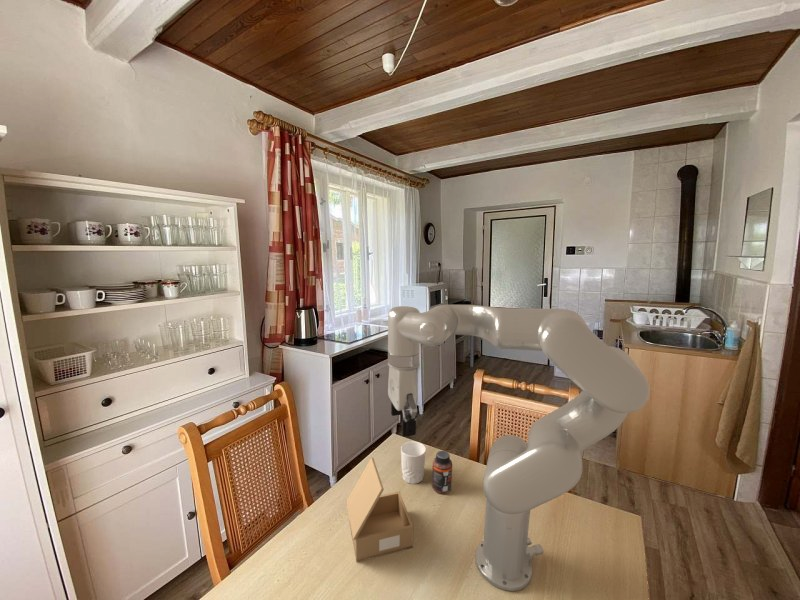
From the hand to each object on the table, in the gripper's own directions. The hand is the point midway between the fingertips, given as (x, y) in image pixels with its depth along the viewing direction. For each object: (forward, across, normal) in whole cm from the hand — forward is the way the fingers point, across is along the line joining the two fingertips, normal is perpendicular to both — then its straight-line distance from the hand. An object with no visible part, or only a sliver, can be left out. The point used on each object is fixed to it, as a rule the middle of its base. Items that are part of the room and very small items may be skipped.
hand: (402, 424), depth 84 cm
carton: (+30, 0, -6) cm, 30 cm away
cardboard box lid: (+18, 0, -10) cm, 20 cm away
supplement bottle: (+30, -11, +16) cm, 36 cm away
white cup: (+30, -18, +9) cm, 36 cm away
